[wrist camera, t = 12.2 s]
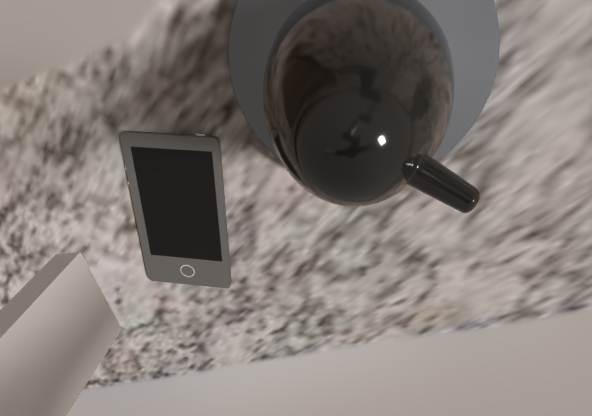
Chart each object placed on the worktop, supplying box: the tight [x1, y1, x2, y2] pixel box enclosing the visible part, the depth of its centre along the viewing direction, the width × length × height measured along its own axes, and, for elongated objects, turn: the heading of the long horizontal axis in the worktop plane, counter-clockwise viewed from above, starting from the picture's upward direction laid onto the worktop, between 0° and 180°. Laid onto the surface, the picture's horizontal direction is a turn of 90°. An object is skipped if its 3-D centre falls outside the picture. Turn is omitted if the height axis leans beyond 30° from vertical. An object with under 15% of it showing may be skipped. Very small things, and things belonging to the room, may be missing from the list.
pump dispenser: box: [263, 0, 480, 213], centre depth 23 cm, size 10×10×15 cm
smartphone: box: [120, 131, 231, 288], centre depth 40 cm, size 15×8×1 cm, turn 0°
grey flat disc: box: [229, 0, 500, 160], centre depth 31 cm, size 17×17×2 cm
